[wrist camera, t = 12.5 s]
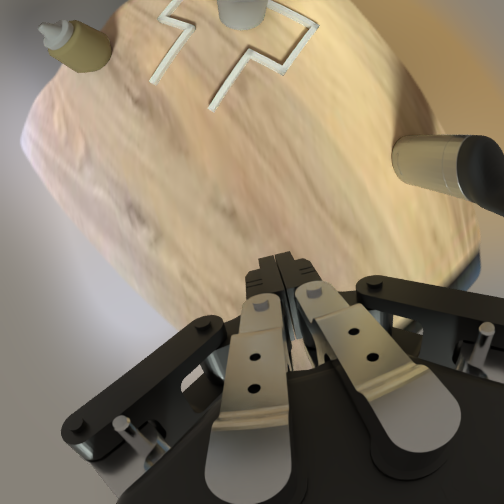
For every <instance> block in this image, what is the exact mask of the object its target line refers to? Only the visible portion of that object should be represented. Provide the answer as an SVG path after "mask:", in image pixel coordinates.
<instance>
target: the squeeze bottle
mask: <svg viewBox="0 0 504 504" xmlns="http://www.w3.org/2000/svg"><path fill="white" fill-rule="evenodd" d="M38 30H39V31H40V32H41V33H42V34H43V35H44V36H45V37H44V42H43V43H44V46H45V47H47V48H48V52H49V54H50V56H52V57H53V58H55V59H57V60H58V61H60V62H61V63H63V64H64V65H66V66H68V67H69V68H71V69H72V70H74V71H76V72H77V73H85V72H93V71H97V70H99V69H101V68H102V67H104V66H105V65H106V64H107V62H108V61H109V59H110V57H111V46H110V42H109V39H108V37H107V36H106V34H104V33H102V32H100V31H98V30H96V29H94V28H92V27H90V26H88V25H86V24H84V23H82V22H79V21H77V20H73V21H69V22H68V21H66V20H60V21H58V22H56V23H54V24H50V23H44V22H43V23H41V24H40V25H39V27H38Z"/></svg>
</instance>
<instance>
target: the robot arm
mask: <svg viewBox="0 0 504 504" xmlns="http://www.w3.org/2000/svg"><path fill="white" fill-rule="evenodd" d="M392 164H393V168H394V171H395V173H396V174H397V176H398V177H399V178H400V179H401V180H402V181H403V182H404V183H407V184H410V185H414V186H418V187H421V188H425V189H429V190H433V191H436V192H440V193H443V194H447V195H450V196H454V197H457V198H461V199H464V200H467V201H470V202H473V203H476V204H478V205H479V206H480V207H482V208H484V209H486V210H489V211H491V212H494V213H496V214H498V215H500V216H503V217H504V154H503V152H502V150H501V148H500V147H499V145H498V144H497V143H496V142H495V141H494V140H492V139H491V138H489V137H486V136H482V135H409V136H404V137H402V138H400V139H399V140H398V141H397V142H396V144H395V146H394V148H393V152H392ZM258 260H259V266H260V269H257V270H253V271H249V273H248V274H247V275H246V277H245V281H246V301H245V302H244V303H243V305H242V310H241V315H240V316H238V317H236V318H235V319H232V320H230V321H228V322H225V323H224V322H223V320H222V318H221V317H219V316H216V315H207V316H203V317H200V318H197V319H195V320H194V321H192V322H191V323H189V324H188V325H187V326H186V327H184V328H183V329H182V330H181V331H179V332H178V333H177V334H176V335H174V336H173V337H172V338H171V339H169V340H168V341H167V342H165V343H164V344H163V345H162V346H160V347H159V348H158V349H156V350H155V351H154V352H153V353H151V354H150V355H149V356H147V358H145V359H144V360H142V361H141V362H140V363H138V364H137V365H136V366H135V367H133V368H132V369H131V370H129V371H128V372H127V373H126V374H124V375H123V376H122V377H120V378H119V379H118V380H116V381H115V382H114V383H112V384H111V385H110V386H109V387H107V388H106V389H105V390H103V391H102V392H101V393H100V394H98V395H97V396H95V397H94V398H93V399H92V400H90V401H89V402H87V403H86V404H85V405H83V406H82V407H81V408H80V409H78V410H77V411H75V412H74V413H73V414H71V415H70V416H69V417H68V418H67V419H66V420H65V422H64V424H63V426H62V429H61V436H62V438H63V440H64V441H65V442H66V443H67V444H68V445H69V446H70V447H71V448H72V449H74V450H75V451H76V452H77V453H78V454H79V455H80V457H81V458H82V459H83V460H84V461H86V462H87V463H88V464H89V465H91V466H92V467H93V468H94V469H95V470H96V472H97V473H98V474H99V476H100V477H101V478H102V479H103V481H104V482H105V483H106V484H107V486H108V487H109V488H110V489H111V491H112V492H113V493H114V494H115V495H116V497H117V498H118V501H117V503H116V504H504V298H499V297H494V296H489V295H483V294H478V293H473V292H467V291H462V290H457V289H451V288H446V287H440V286H435V285H430V284H424V283H419V282H414V281H408V280H403V279H398V278H392V277H387V276H381V275H373V276H367V277H364V278H362V279H361V280H359V281H358V282H357V284H356V291H346V292H339V291H337V290H336V289H335V288H334V287H333V286H332V285H331V284H330V283H328V282H325V281H322V279H321V278H320V276H319V275H318V273H317V271H316V270H315V268H314V267H313V265H312V264H311V262H310V261H308V260H306V259H304V258H302V259H298V260H294V258H293V257H292V255H291V253H290V251H288V252H284V253H280V254H276V255H275V259H274V256H273V255H272V256H268V257H263V258H259V259H258ZM275 260H276V262H275ZM276 264H277V265H276ZM393 315H397V316H401V317H405V318H409V319H413V320H416V321H418V322H419V323H420V324H421V325H422V327H423V335H420V334H416V333H413V332H409V331H405V330H402V329H398V328H394V327H393ZM292 325H293V327H292ZM293 329H294V332H295V335H296V339H300V338H303V341H304V347H305V352H306V354H307V357H308V359H309V361H310V363H311V365H312V368H313V369H310V370H301V371H294V365H293V357H292V352H291V349H292V344H291V341H293V340H295V337H294V332H293ZM199 364H200V365H201V367H202V369H203V371H204V373H203V374H202V375H201V376H200V377H199V378H198V379H197V380H196V381H195V382H194V383H192V384H191V385H190V386H189V387H188V388H187V389H186V390H185V391H184V392H183V393H182V391H181V383H182V381H183V379H184V378H185V377H186V376H187V375H188V374H190V373H191V372H192V371H193V370H194V369H195V368H196V367H197V366H198V365H199Z"/></svg>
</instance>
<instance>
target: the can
mask: <svg viewBox="0 0 504 504" xmlns="http://www.w3.org/2000/svg"><path fill="white" fill-rule="evenodd" d="M267 2H268V0H217V4H218V11H219V18H220V20H221V22H222V23H223V24H224V25H226V26H227V27H229V28H232V29H236V30H248V29H252V28H255V27H256V26H258V25H259V24H260V23H261V22H262V21H263V20H264V16H265V12H266V7H267Z"/></svg>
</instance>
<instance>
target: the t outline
mask: <svg viewBox="0 0 504 504" xmlns="http://www.w3.org/2000/svg"><path fill="white" fill-rule="evenodd" d="M182 1H183V0H172V2H171V3H170V4H169V5H168V6H167V7H166V9H165V10H164V11H163V12H162V13H161V15H160V16H159V17H158V18H157V20H158V21H159V22H160V23H163V24H166V25H169V26H172V27H176V28H178V29H181V30H184V32H183V33H182V34H181V35H180V37H179V38H178V39H177V41H176V42H175V44H174V45H173V46H172V48H171V49H170V50H169V52H168V53H167V55H166V56H165V58H164V59H163V61H162V62H161V64H160V65H159V67H158V68H157V70H156V71H155V73H154V74H153V76H152V77H151V79H150V81H149V82H150V83H152V84H154V85H156V86H157V84H158V83H159V81H160V79H161V78H162V76H163V75H164V73H165V72H166V70H167V69H168V67H169V66H170V64H171V63H172V61H173V60H174V58H175V57H176V55H177V54H178V53H179V51H180V50H181V48H182V47H183V46H184V44H185V43H186V42H187V40H188V39H189V38H190V36H191V35H192V34H193V32H194V31H195V30H196V28H195V26H194V25H191V24H188V23H185V22H182V21H179V20H176V19H173V18H170V15H171V14H172V13H173V12H174V11H175V9H176V8H177V7H178V6H179V5H180V4H181V2H182ZM267 8H269V9H271V10H273V11H276V12H278V13H280V14H282V15H284V16H286V17H288V18H290V19H292V20H294V21H296V22H297V23H299V24H301V25H303V26H305V27H307V28H308V29H309V30H308V32H307V33H306V34H305V36H304V37H303V38H302V39H301V41H300V42H299V43H298V45H297V46H296V48H295V49H294V50H293V52H292V53H291V54H290V56H289V57H288V59H287V60H286V61H285V63H284V64H283V66H282V65H280V64H278V63H276V62H275V61H273V60H271V59H269V58H267V57H265V56H263V55H261V54H259V53H257V52H255V51H253V50H251V49H249V48H248V50H247V51H246V53H245V54H244V55H243V57H242V58H241V59H240V61H239V62H238V64H237V65H236V66H235V68H234V69H233V71H232V72H231V74H230V75H229V76H228V78H227V79H226V81H225V82H224V84H223V85H222V87H221V88H220V90H219V91H218V93H217V94H216V96H215V98H214V99H213V101H212V102H211V104H210V105H209V107H208V109H209V110H210V111H212V112H215V111H216V109H217V107H218V106H219V104H220V103H221V101H222V100H223V98H224V97H225V95H226V93H227V92H228V90H229V89H230V87H231V86H232V84H233V83H234V81H235V80H236V79H237V77H238V76H239V74H240V73H241V71H242V70H243V68H244V67H245V66H246V64H247V63H248V61H249V60H250V59H252V60H254V61H256V62H258V63H260V64H262V65H264V66H266V67H268V68H270V69H271V70H273V71H275V72H277V73H279V74H280V75H282V76H284V74H285V73H286V71H287V70H288V69H289V67H290V66H291V64H292V63H293V61H294V60H295V59H296V57H297V56H298V54H299V53H300V52H301V50H302V49H303V48H304V46H305V45H306V43H307V42H308V41H309V39H310V38H311V37H312V35H313V34H314V33H315V31H316V30H317V29H318V27H319V26H320V25H318V24H316V23H315V22H313V21H311V20H309V19H308V18H306V17H304V16H302V15H300V14H298V13H296V12H294V11H292V10H290V9H288V8H286V7H284V6H282V5H280V4H278V3H276V2H274V1H271V0H268V2H267Z"/></svg>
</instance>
